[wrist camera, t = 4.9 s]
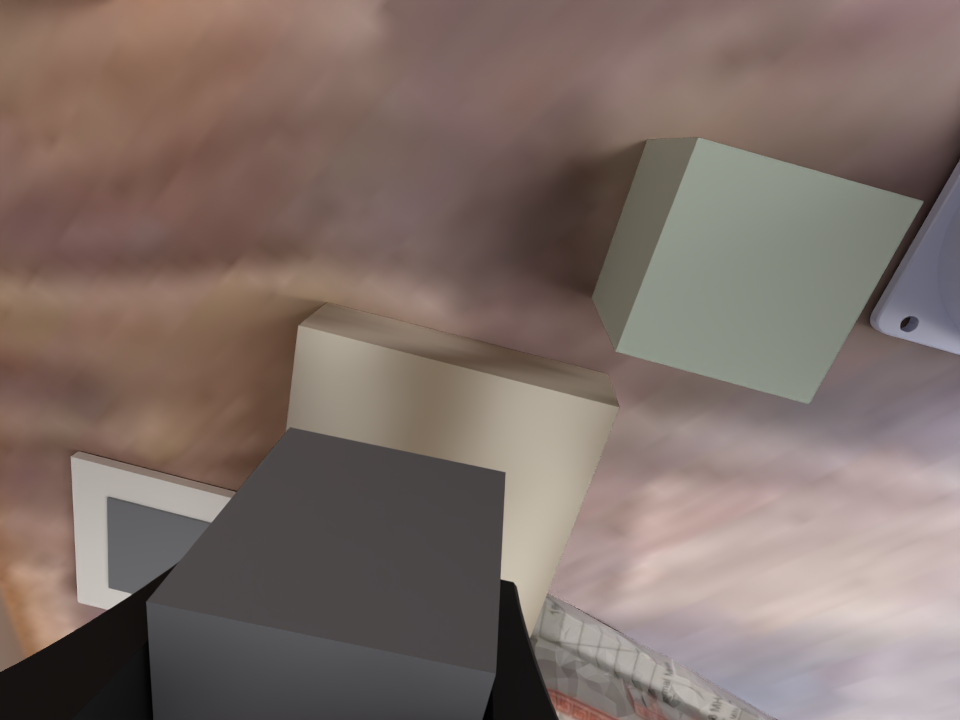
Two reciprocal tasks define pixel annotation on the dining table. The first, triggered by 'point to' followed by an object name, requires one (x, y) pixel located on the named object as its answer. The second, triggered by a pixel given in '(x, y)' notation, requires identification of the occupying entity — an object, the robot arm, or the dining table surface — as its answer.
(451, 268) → the dining table surface
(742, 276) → the sage block
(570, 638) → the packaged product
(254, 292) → the dining table surface
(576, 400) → the birch base block
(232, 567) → the charcoal block
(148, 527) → the tile
